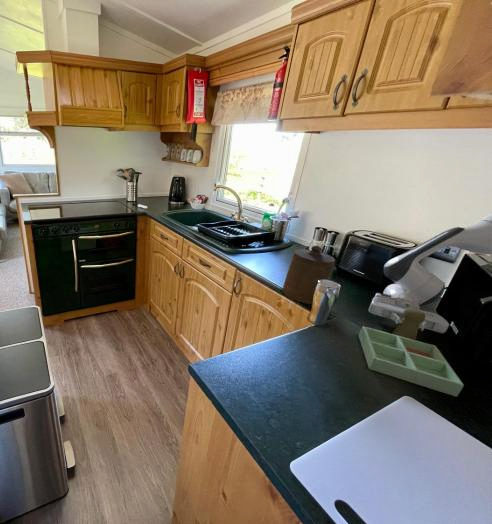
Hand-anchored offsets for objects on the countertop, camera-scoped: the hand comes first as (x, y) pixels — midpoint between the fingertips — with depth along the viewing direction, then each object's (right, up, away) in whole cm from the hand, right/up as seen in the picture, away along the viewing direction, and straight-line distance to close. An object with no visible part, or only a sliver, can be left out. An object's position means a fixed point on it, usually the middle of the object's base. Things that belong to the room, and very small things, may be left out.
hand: (410, 325), depth 92 cm
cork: (0, -6, +3) cm, 6 cm away
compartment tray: (-10, -9, -8) cm, 16 cm away
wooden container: (-19, +6, +29) cm, 35 cm away
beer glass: (-24, -1, +10) cm, 26 cm away
